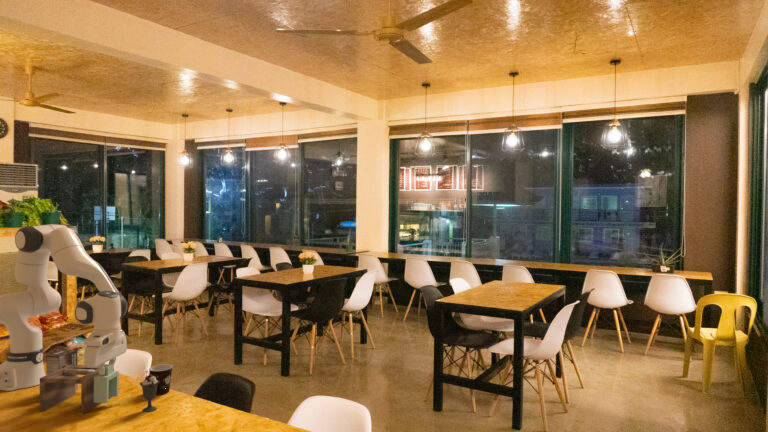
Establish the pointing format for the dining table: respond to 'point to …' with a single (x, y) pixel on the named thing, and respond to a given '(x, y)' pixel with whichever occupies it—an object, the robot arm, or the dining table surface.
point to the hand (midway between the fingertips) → (106, 372)
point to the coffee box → (61, 361)
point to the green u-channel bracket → (106, 385)
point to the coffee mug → (162, 377)
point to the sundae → (149, 390)
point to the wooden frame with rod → (68, 387)
